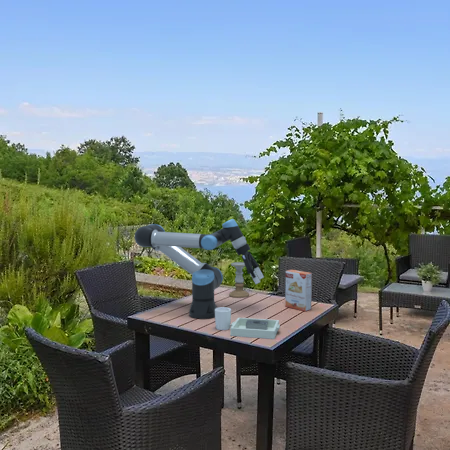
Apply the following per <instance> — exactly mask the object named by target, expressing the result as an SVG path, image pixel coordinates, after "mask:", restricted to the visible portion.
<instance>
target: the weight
mask: <svg viewBox="0 0 450 450" xmlns="http://www.w3.org/2000/svg"><path fill="white" fill-rule="evenodd" d="M246 329H259V330H267V329H268V322H264V321H257V320H254V321H248V320H247V322H246Z"/></svg>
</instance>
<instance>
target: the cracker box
mask: <svg viewBox="0 0 450 450" xmlns="http://www.w3.org/2000/svg"><path fill="white" fill-rule="evenodd" d="M312 277H313V274H312V272H307V271H303V270H298V269H297V270H296V269H287V270H285V300H284V302H285V303H284V304H285V307H286V308H290V309H294V310H299V311H302V312H308V311H310V310H311V311H312V296H313V295H312V289H313V288H312V286H313V285H312V281H313V280H312Z"/></svg>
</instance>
